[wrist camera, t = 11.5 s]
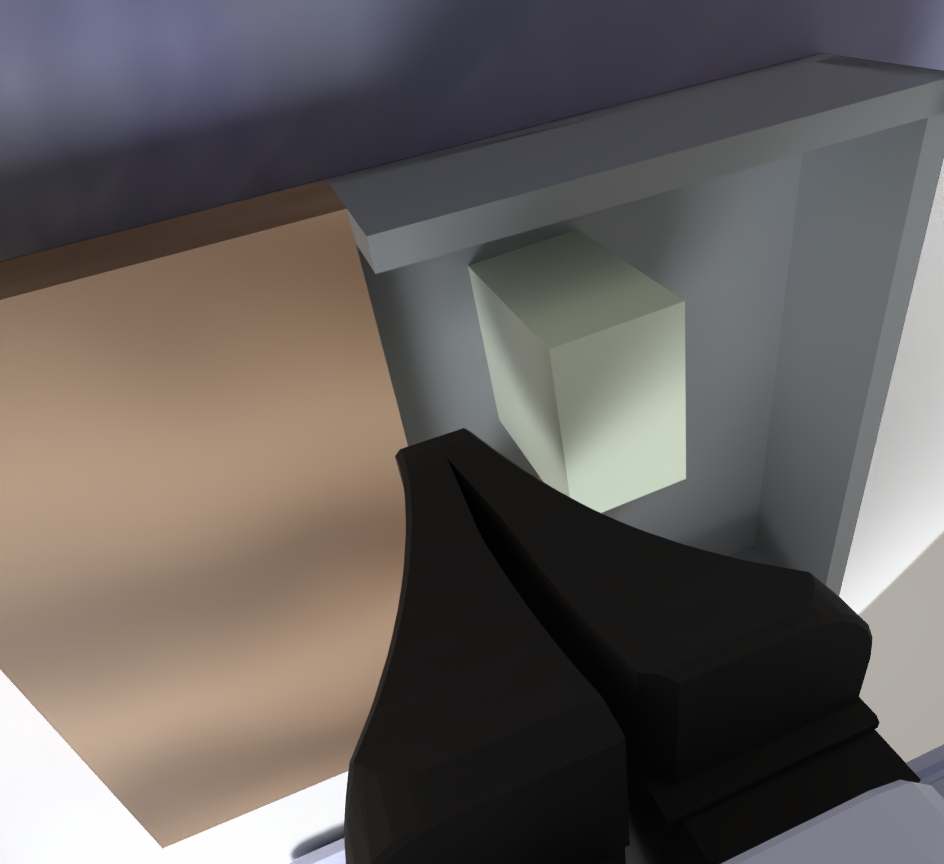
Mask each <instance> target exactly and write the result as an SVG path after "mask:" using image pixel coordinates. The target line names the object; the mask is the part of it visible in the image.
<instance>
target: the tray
mask: <svg viewBox="0 0 944 864" xmlns="http://www.w3.org/2000/svg"><path fill="white" fill-rule="evenodd" d="M943 158H944V71H941V70H934V69H927V68H920V67H913V66H906V65H899V64H892V63H885V62H878V61H871V60H864V59H857V58H850V57H843V56H836V55H829V54H822V53H821V54H817V55H813V56H809V57H805V58H801V59H797V60H793V61H789V62H785V63H781V64H777V65H773V66H769V67H766V68H762V69H758V70H754V71H750V72H746V73H742V74H738V75H734V76H730V77H726V78H722V79H718V80H714V81H710V82H706V83H703V84H699V85H695V86H691V87H687V88H683V89H679V90H675V91H671V92H667V93H663V94H659V95H655V96H651V97H647V98H643V99H640V100H636V101H632V102H628V103H624V104H620V105H616V106H612V107H608V108H604V109H600V110H596V111H592V112H588V113H584V114H581V115H577V116H573V117H569V118H565V119H561V120H557V121H553V122H549V123H545V124H541V125H537V126H533V127H529V128H525V129H521V130H518V131H514V132H510V133H506V134H502V135H498V136H494V137H490V138H486V139H482V140H478V141H474V142H470V143H466V144H462V145H458V146H455V147H451V148H447V149H443V150H439V151H435V152H431V153H427V154H423V155H419V156H415V157H411V158H407V159H403V160H399V161H396V162H392V163H388V164H384V165H380V166H376V167H372V168H368V169H364V170H360V171H356V172H352V173H348V174H344V175H340V176H336V177H333V178H329V179H326V180H327V181H328V183H329V184H330V186H331V187H332V188H333V190H334V191H335V193H336V194H337V195H338V197H339V198H340V200H341V201H342V203H343V204H344V205H345V207H346V208H347V211H348V215H349V219H350V223H351V227H352V231H353V235H354V238H355V242H356V246H357V250H358V254H359V258H360V262H361V266H362V269H363V273H364V277H365V281H366V285H367V289H368V293H369V297H370V301H371V304H372V308H373V312H374V316H375V320H376V324H377V328H378V332H379V335H380V339H381V343H382V347H383V351H384V355H385V359H386V363H387V366H388V370H389V374H390V378H391V382H392V386H393V390H394V394H395V397H396V401H397V405H398V409H399V413H400V417H401V421H402V425H403V429H404V432H405V436H406V440H407V444H408V446H411V445H414V444H417V443H420V442H423V441H426V440H429V439H432V438H435V437H438V436H441V435H444V434H447V433H450V432H453V431H456V430H459V429H462V428H465V429H467V430H469V431H471V432H472V433H473V434H475V435H476V436H477V437H478V438H480V439H481V440H482V441H484V442H485V443H486V444H488V445H489V446H490V447H492V448H493V449H495V450H496V451H497V452H499V453H500V454H502V455H503V456H504V457H506V458H507V459H509V460H510V461H512V462H513V463H515V464H516V465H518V466H519V467H521V468H522V469H524V470H525V471H527V472H528V473H530V474H532V475H533V476H535V477H539V475H538V473H537V472H536V471H535V469H534V468H533V466H532V465H531V464H530V462H529V461H528V459H527V458H526V457H525V455H524V454H523V452H522V451H521V450H520V448H519V447H518V445H517V444H516V443H515V441H514V440H513V438H512V437H511V436H510V434H509V433H508V431H507V430H506V429H505V427H504V426H503V424H502V423H501V422H500V420H499V417H498V412H497V407H496V402H495V397H494V392H493V387H492V382H491V377H490V372H489V367H488V363H487V358H486V353H485V348H484V343H483V338H482V333H481V328H480V323H479V318H478V313H477V309H476V304H475V299H474V294H473V289H472V284H471V279H470V274H469V269H468V265H471V264H474V263H477V262H480V261H483V260H486V259H489V258H493V257H496V256H499V255H502V254H505V253H508V252H511V251H514V250H517V249H520V248H523V247H526V246H529V245H532V244H535V243H538V242H541V241H544V240H547V239H550V238H553V237H556V236H559V235H562V234H565V233H569V232H572V231H575V230H579V231H580V232H582V233H583V234H585V235H586V236H588V237H589V238H591V239H592V240H594V241H595V242H597V243H598V244H600V245H601V246H603V247H604V248H606V249H607V250H609V251H610V252H612V253H613V254H615V255H616V256H618V257H619V258H621V259H622V260H624V261H626V262H627V263H629V264H630V265H632V266H633V267H635V268H636V269H638V270H639V271H641V272H642V273H644V274H645V275H647V276H648V277H650V278H651V279H653V280H654V281H656V282H657V283H659V284H660V285H662V286H663V287H665V288H666V289H668V290H669V291H671V292H672V293H674V294H675V295H677V296H678V297H680V298H681V299H683V300H684V301H685V390H686V479H684V480H681V481H679V482H677V483H674V484H672V485H669V486H667V487H664V488H662V489H659V490H657V491H654V492H652V493H649V494H647V495H644V496H642V497H639V498H637V499H634V500H632V501H630V502H627V503H625V504H622V505H620V506H617V507H615V508H612V509H610V510H607V511H605V512H602V514H604V515H606V516H609V517H611V518H613V519H615V520H618V521H620V522H622V523H625V524H627V525H630V526H632V527H635V528H637V529H640V530H643V531H645V532H648V533H651V534H654V535H657V536H660V537H663V538H666V539H669V540H672V541H675V542H678V543H681V544H684V545H688V546H691V547H695V548H698V549H701V550H705V551H709V552H713V553H717V554H721V555H725V556H729V557H733V558H737V559H741V560H746V561H751V562H756V563H762V564H767V565H773V566H778V567H784V568H789V569H795V570H800V571H806V572H810V573H811V574H812V575H813V576H815V577H816V578H817V579H818V580H820V581H821V582H822V583H823V584H825V585H826V586H827V587H828V588H830V589H831V590H832V591H833V592H834V593H836V594H837V595H838V596H839V594H840V589H841V585H842V581H843V577H844V573H845V568H846V564H847V560H848V556H849V552H850V547H851V543H852V539H853V535H854V531H855V527H856V522H857V518H858V514H859V510H860V506H861V501H862V497H863V493H864V489H865V485H866V480H867V476H868V472H869V468H870V464H871V460H872V455H873V451H874V447H875V443H876V439H877V434H878V430H879V426H880V422H881V418H882V413H883V409H884V405H885V401H886V397H887V392H888V388H889V384H890V380H891V376H892V372H893V367H894V363H895V359H896V355H897V351H898V346H899V342H900V338H901V334H902V330H903V325H904V321H905V317H906V313H907V309H908V305H909V300H910V296H911V292H912V288H913V284H914V279H915V275H916V271H917V267H918V263H919V258H920V254H921V250H922V246H923V242H924V237H925V233H926V229H927V225H928V221H929V217H930V212H931V208H932V204H933V200H934V196H935V191H936V187H937V183H938V179H939V175H940V170H941V166H942V162H943Z"/></svg>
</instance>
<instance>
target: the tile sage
mask: <svg viewBox="0 0 944 864" xmlns="http://www.w3.org/2000/svg"><path fill="white" fill-rule="evenodd" d="M468 269H469V274H470V279H471V284H472V289H473V294H474V299H475V304H476V309H477V313H478V318H479V323H480V328H481V333H482V338H483V343H484V348H485V353H486V358H487V363H488V367H489V372H490V377H491V382H492V387H493V392H494V397H495V402H496V407H497V412H498V417H499V420H500V422H501V423H502V424H503V426H504V427H505V429H506V430H507V431H508V433H509V434H510V436H511V437H512V438H513V440H514V441H515V443H516V444H517V445H518V447H519V448H520V450H521V451H522V452H523V454H524V455H525V457H526V458H527V459H528V461H529V462H530V464H531V465H532V466H533V468H534V469H535V471H536V472H537V473H538V475H539V476H540V478H541V479H542V480H543V482H544V483H546V484H548V485H549V486H551V487H553V488H554V489H556V490H558V491H559V492H561V493H563V494H565V495H567V496H569V497H570V498H572V499H574V500H576V501H578V502H580V503H582V504H584V505H585V506H587V507H589V508H591V509H593V510H595V511H598V512H600V513H602V512H605V511H607V510H610V509H612V508H615V507H617V506H620V505H622V504H625V503H627V502H630V501H632V500H634V499H637V498H639V497H642V496H644V495H647V494H649V493H652V492H654V491H657V490H659V489H662V488H664V487H667V486H669V485H672V484H674V483H677V482H679V481H681V480H684V479H686V390H685V301H684V300H683V299H681V298H680V297H678V296H677V295H675V294H674V293H672V292H671V291H669V290H668V289H666V288H665V287H663V286H662V285H660V284H659V283H657V282H656V281H654V280H653V279H651V278H650V277H648V276H647V275H645V274H644V273H642V272H641V271H639V270H638V269H636V268H635V267H633V266H632V265H630V264H629V263H627V262H626V261H624V260H622V259H621V258H619V257H618V256H616V255H615V254H613V253H612V252H610V251H609V250H607V249H606V248H604V247H603V246H601V245H600V244H598V243H597V242H595V241H594V240H592V239H591V238H589V237H588V236H586V235H585V234H583V233H582V232H580V231H579V230H575V231H572V232H569V233H565V234H562V235H559V236H556V237H553V238H550V239H547V240H544V241H541V242H538V243H535V244H532V245H529V246H526V247H523V248H520V249H517V250H514V251H511V252H508V253H505V254H502V255H499V256H496V257H493V258H489V259H486V260H483V261H480V262H477V263H474V264H471V265H468Z"/></svg>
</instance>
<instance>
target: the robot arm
mask: <svg viewBox="0 0 944 864" xmlns="http://www.w3.org/2000/svg"><path fill="white" fill-rule="evenodd" d="M395 458H396V462H397V466H398V469H399V473H400V477H401V480H402V484H403V488H404V494H405V515H406V537H405V554H404V568H403V577H402V585H401V592H400V598H399V605H398V610H397V615H396V620H395V625H394V629H393V634H392V639H391V643H390V647H389V651H388V655H387V658H386V662H385V665H384V668H383V672H382V675H381V678H380V681H379V685H378V688H377V691H376V694H375V698H374V701H373V704H372V706H371V709H370V712H369V715H368V717H367V720H366V722H365V725H364V727H363V730H362V732H361V735H360V737H359V740H358V742H357V745H356V747H355V750H354V752H353V755H352V757H351V760H350V763H349V772H348V782H347V792H346V805H345V821H344V838H342V839H340V840H337V841H335V842H333V843H331V844H328V845H326V846H324V847H321V848H319V849H317V850H314V851H312V852H310V853H308V854H305V855H303V856H301V857H298V858H297V859H295V860H294V861H292V862H291V863H290V864H944V745H942V746H940V747H938V748H936V749H934V750H931V751H929V752H927V753H925V754H923V755H921V756H919V757H917V758H915V759H913V760H911V761H909V762H907V763H905V762H904V761H903V760H902V759H901V757H900V756H899V755H898V754H897V753H896V752H895V751H894V750H893V749H892V748H891V747H890V746H889V744H887V742H886V741H885V740H884V739H883V738H882V737H881V736H880V735H879V734H878V732H876V730H875V729H876V728H878V725H879V721H878V718H877V716H876V715H875V713H874V712H872V710H871V709H870V708H869V707H868V706H867V705H866V704H865V703H864V702H863V701H862V700H861V699H860V697H859V694H860V690H861V687H862V684H863V680H864V677H865V674H866V670H867V667H868V663H869V660H870V655H871V647H872V635H871V632H870V629H869V626H868V624H867V623H866V622H865V621H864V620H863V619H862V618H860V616H859V615H857V614H856V613H855V612H854V611H853V610H852V609H851V608H850V607H849V606H848V605H847V604H846V603H845V602H844V601H843V600H842V599H841V598H840V597H839V596H838V595H837V594H836V593H834V592H833V591H832V590H831V589H830V588H828V587H827V586H826V585H825V584H823V583H822V582H821V581H820V580H818V579H817V578H816V577H815V576H813V575H812V574H811V573H810V572H806V571H800V570H795V569H789V568H784V567H778V566H773V565H767V564H762V563H756V562H751V561H746V560H741V559H737V558H733V557H729V556H725V555H721V554H717V553H713V552H709V551H705V550H701V549H698V548H695V547H691V546H688V545H684V544H681V543H678V542H675V541H672V540H669V539H666V538H663V537H660V536H657V535H654V534H651V533H648V532H645V531H643V530H640V529H637V528H635V527H632V526H630V525H627V524H625V523H622V522H620V521H618V520H615V519H613V518H611V517H609V516H606V515H604V514H602V513H600V512H598V511H595V510H593V509H591V508H589V507H587V506H585V505H584V504H582V503H580V502H578V501H576V500H574V499H572V498H570V497H569V496H567V495H565V494H563V493H561V492H559V491H558V490H556V489H554V488H553V487H551V486H549V485H548V484H546V483H544V482H543V481H541V480H539V479H538V478H536V477H535V476H533V475H532V474H530V473H528V472H527V471H525V470H524V469H522V468H521V467H519V466H518V465H516V464H515V463H513V462H512V461H510V460H509V459H507V458H506V457H504V456H503V455H502V454H500V453H499V452H497V451H496V450H495V449H493V448H492V447H490V446H489V445H488V444H486V443H485V442H484V441H482V440H481V439H480V438H478V437H477V436H476V435H475V434H473V433H472V432H471V431H469V430H467V429H465V428H462V429H459V430H456V431H453V432H450V433H447V434H444V435H441V436H438V437H435V438H432V439H429V440H426V441H423V442H420V443H417V444H414V445H411V446H408V447H405V448H402V449H400V450H399V451H398V453H397V454H396V456H395Z"/></svg>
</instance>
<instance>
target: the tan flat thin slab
mask: <svg viewBox="0 0 944 864" xmlns="http://www.w3.org/2000/svg"><path fill="white" fill-rule="evenodd" d="M405 447H408V444H407V440H406V436H405V432H404V429H403V425H402V421H401V417H400V413H399V409H398V405H397V401H396V397H395V394H394V390H393V386H392V382H391V378H390V374H389V370H388V366H387V363H386V359H385V355H384V351H383V347H382V343H381V339H380V335H379V332H378V328H377V324H376V320H375V316H374V312H373V308H372V304H371V301H370V297H369V293H368V289H367V285H366V281H365V277H364V273H363V269H362V266H361V262H360V258H359V254H358V250H357V246H356V242H355V238H354V235H353V231H352V227H351V223H350V219H349V215H348V211H347V208H346V207H345V205H344V204H343V203H342V201H341V200H340V198H339V197H338V195H337V194H336V193H335V191H334V190H333V188H332V187H331V186H330V184H329V183H328V181H327V180H326V179H325V180H321V181H317V182H313V183H309V184H305V185H301V186H297V187H293V188H289V189H285V190H281V191H277V192H273V193H270V194H266V195H262V196H258V197H254V198H250V199H246V200H242V201H238V202H234V203H230V204H226V205H222V206H218V207H214V208H211V209H207V210H203V211H199V212H195V213H191V214H187V215H183V216H179V217H175V218H171V219H167V220H163V221H159V222H155V223H151V224H148V225H144V226H140V227H136V228H132V229H128V230H124V231H120V232H116V233H112V234H108V235H104V236H100V237H96V238H92V239H88V240H85V241H81V242H77V243H73V244H69V245H65V246H61V247H57V248H53V249H49V250H45V251H41V252H37V253H33V254H29V255H26V256H22V257H18V258H14V259H10V260H6V261H2V262H0V669H1V670H2V672H3V673H4V674H5V675H6V676H7V677H8V678H9V679H10V680H11V682H12V683H13V684H14V685H15V686H16V687H17V688H18V689H19V690H20V691H21V693H22V694H23V695H24V696H25V697H26V698H27V699H28V700H29V701H30V702H31V704H32V705H33V706H34V707H35V708H36V709H37V710H38V711H39V712H40V713H41V715H42V716H43V717H44V718H45V719H46V720H47V721H48V722H49V723H50V725H51V726H52V727H53V728H54V729H55V730H56V731H57V732H58V733H59V734H60V736H61V737H62V738H63V739H64V740H65V741H66V742H67V743H68V744H69V745H70V747H71V748H72V749H73V750H74V751H75V752H76V753H77V754H78V755H79V756H80V758H81V759H82V760H83V761H84V762H85V763H86V764H87V765H88V766H89V768H90V769H91V770H92V771H93V772H94V773H95V774H96V775H97V776H98V777H99V779H100V780H101V781H102V782H103V783H104V784H105V785H106V786H107V787H108V788H109V790H110V791H111V792H112V793H113V794H114V795H115V796H116V797H117V798H118V799H119V801H120V802H121V803H122V804H123V805H124V806H125V807H126V808H127V809H128V811H129V812H130V813H131V814H132V815H133V816H134V817H135V818H136V819H137V820H138V822H139V823H140V824H141V825H142V826H143V827H144V828H145V829H146V830H147V831H148V833H149V834H150V835H151V836H152V837H153V838H154V839H155V840H156V841H157V842H158V844H159V845H160V846H161V847H162V848H164V847H166V846H169V845H171V844H174V843H176V842H178V841H181V840H183V839H186V838H188V837H190V836H193V835H195V834H198V833H200V832H202V831H205V830H207V829H210V828H212V827H214V826H217V825H219V824H222V823H224V822H226V821H229V820H231V819H234V818H236V817H238V816H241V815H243V814H246V813H248V812H250V811H253V810H255V809H258V808H260V807H262V806H265V805H267V804H270V803H272V802H274V801H277V800H279V799H282V798H284V797H286V796H289V795H291V794H294V793H296V792H298V791H301V790H303V789H306V788H308V787H310V786H313V785H315V784H318V783H320V782H322V781H325V780H327V779H330V778H332V777H334V776H337V775H339V774H342V773H344V772H346V771H349V763H350V760H351V757H352V755H353V752H354V750H355V747H356V745H357V742H358V740H359V737H360V735H361V732H362V730H363V727H364V725H365V722H366V720H367V717H368V715H369V712H370V709H371V706H372V704H373V701H374V698H375V694H376V691H377V688H378V685H379V681H380V678H381V675H382V672H383V668H384V665H385V662H386V658H387V655H388V651H389V647H390V643H391V639H392V634H393V629H394V625H395V620H396V615H397V610H398V605H399V598H400V592H401V585H402V577H403V568H404V554H405V537H406V515H405V494H404V488H403V484H402V480H401V477H400V473H399V469H398V466H397V462H396V458H395V456H396V454H397V453H398V451H399V450H400V449H402V448H405Z"/></svg>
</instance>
